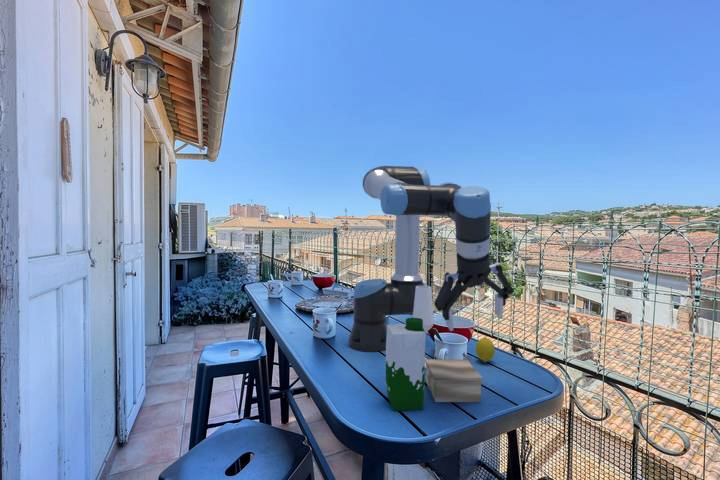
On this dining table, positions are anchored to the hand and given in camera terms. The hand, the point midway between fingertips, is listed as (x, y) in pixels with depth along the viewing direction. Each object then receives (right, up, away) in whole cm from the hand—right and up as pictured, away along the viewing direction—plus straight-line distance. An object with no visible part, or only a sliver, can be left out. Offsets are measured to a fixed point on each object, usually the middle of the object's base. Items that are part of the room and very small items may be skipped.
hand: (474, 321), depth 87 cm
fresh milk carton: (-20, -18, -8) cm, 28 cm away
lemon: (+9, -17, +17) cm, 26 cm away
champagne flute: (-11, -17, +15) cm, 26 cm away
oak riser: (-7, -17, -2) cm, 19 cm away
